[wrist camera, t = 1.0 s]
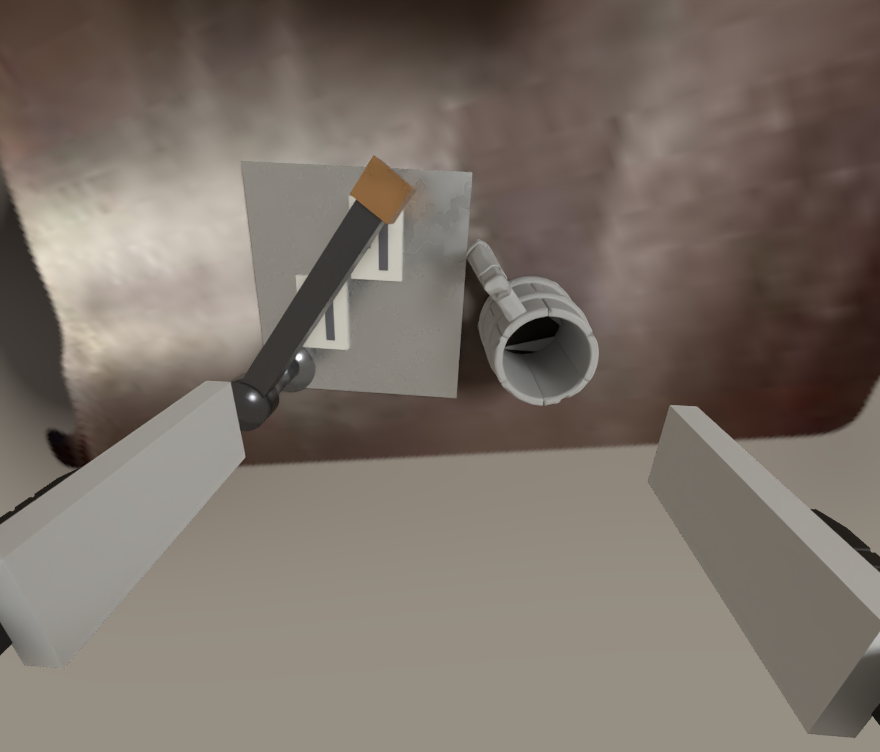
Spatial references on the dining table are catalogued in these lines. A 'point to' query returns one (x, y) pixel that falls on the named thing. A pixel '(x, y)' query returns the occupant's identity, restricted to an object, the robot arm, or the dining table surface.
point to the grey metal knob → (298, 373)
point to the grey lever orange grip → (320, 289)
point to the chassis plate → (369, 301)
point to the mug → (556, 358)
